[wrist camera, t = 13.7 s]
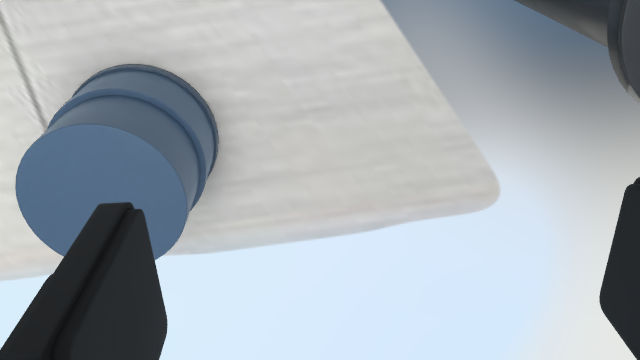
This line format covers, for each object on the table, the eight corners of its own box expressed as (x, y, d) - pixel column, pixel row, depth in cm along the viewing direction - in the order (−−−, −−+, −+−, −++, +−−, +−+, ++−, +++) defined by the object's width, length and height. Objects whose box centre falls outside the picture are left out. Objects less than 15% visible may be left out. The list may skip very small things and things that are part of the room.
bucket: (208, 60, 39) (181, 108, 31) (226, 197, 45) (208, 273, 36) (49, 68, 39) (-23, 119, 30) (87, 204, 44) (34, 282, 36)
